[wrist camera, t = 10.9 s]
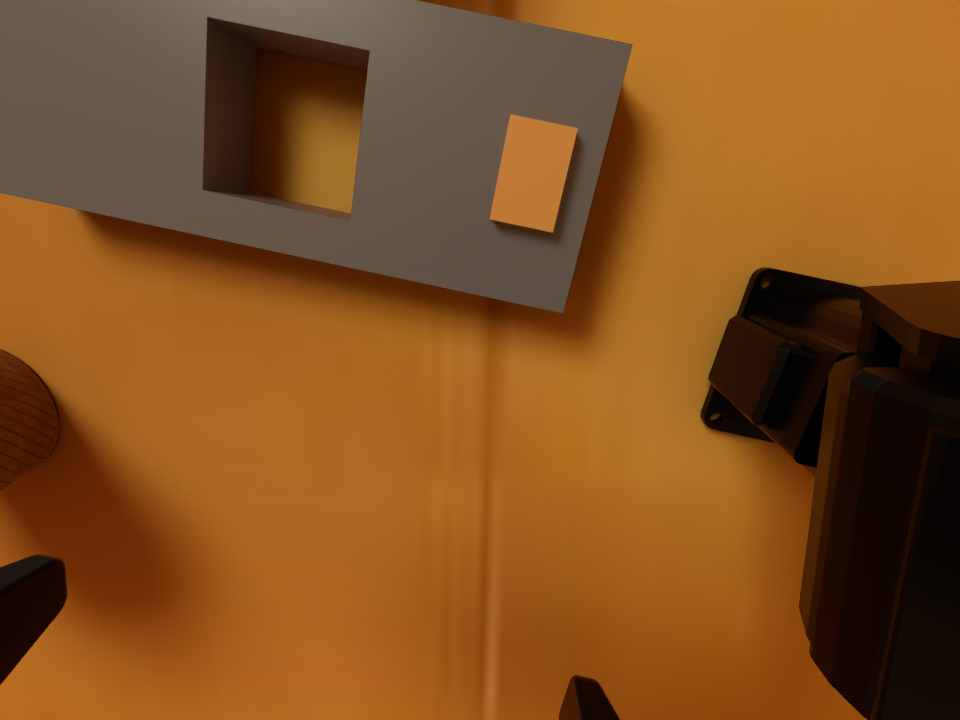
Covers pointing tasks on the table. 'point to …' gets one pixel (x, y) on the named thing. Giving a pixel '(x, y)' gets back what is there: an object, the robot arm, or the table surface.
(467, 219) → the grey flat block
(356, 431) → the table surface
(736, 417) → the robot arm
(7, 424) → the disposable coffee cup
